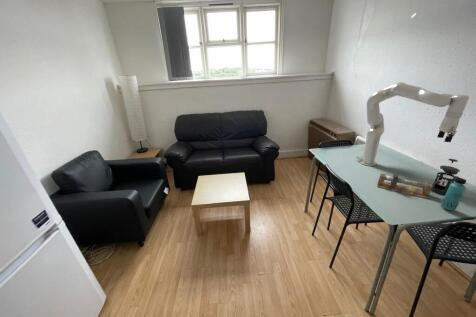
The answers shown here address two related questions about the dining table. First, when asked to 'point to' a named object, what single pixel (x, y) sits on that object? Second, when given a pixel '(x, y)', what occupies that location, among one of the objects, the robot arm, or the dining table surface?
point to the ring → (394, 179)
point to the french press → (444, 184)
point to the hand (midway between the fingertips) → (443, 139)
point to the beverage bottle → (454, 194)
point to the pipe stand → (405, 189)
